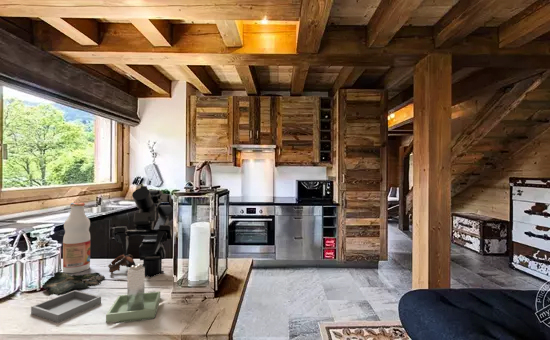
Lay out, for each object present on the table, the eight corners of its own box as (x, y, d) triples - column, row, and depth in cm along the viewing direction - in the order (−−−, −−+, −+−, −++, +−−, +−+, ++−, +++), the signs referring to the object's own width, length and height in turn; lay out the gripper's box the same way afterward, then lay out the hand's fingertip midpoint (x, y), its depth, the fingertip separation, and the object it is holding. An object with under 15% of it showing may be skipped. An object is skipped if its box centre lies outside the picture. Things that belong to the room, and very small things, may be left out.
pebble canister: (130, 305, 85) (131, 263, 85) (146, 304, 86) (147, 262, 86) (124, 312, 81) (124, 268, 81) (140, 312, 81) (141, 267, 81)
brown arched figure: (135, 277, 111) (123, 261, 108) (113, 287, 110) (101, 272, 108) (143, 260, 122) (133, 245, 120) (124, 269, 122) (113, 255, 120)
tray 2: (118, 303, 87) (118, 295, 87) (160, 299, 91) (160, 291, 91) (105, 324, 76) (106, 314, 76) (154, 318, 79) (154, 309, 79)
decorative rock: (94, 264, 113) (115, 267, 106) (93, 279, 113) (115, 284, 105) (36, 275, 97) (56, 281, 89) (35, 294, 96) (55, 301, 89)
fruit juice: (58, 270, 115) (59, 203, 116) (83, 264, 123) (83, 201, 124) (69, 275, 111) (70, 205, 111) (94, 268, 119) (95, 202, 119)
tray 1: (75, 297, 91) (75, 289, 91) (101, 304, 86) (101, 296, 86) (31, 315, 80) (31, 306, 80) (57, 324, 75) (58, 315, 75)
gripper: (114, 203, 97) (103, 243, 86) (171, 202, 101) (167, 240, 91) (120, 222, 104) (110, 261, 93) (173, 220, 109) (169, 257, 98)
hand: (139, 254), depth 94 cm, fingers open, 9 cm apart
